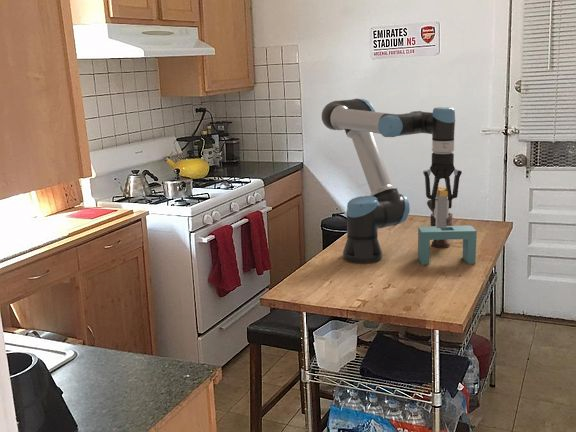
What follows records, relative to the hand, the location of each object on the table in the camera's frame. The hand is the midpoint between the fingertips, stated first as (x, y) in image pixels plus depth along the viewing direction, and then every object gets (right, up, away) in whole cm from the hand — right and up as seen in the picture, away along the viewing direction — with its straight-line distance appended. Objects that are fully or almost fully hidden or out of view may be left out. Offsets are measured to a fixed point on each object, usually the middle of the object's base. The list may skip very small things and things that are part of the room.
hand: (441, 217), depth 237 cm
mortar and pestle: (+7, -12, +32) cm, 34 cm away
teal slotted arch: (+5, -17, +13) cm, 22 cm away
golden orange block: (0, -4, +1) cm, 4 cm away
